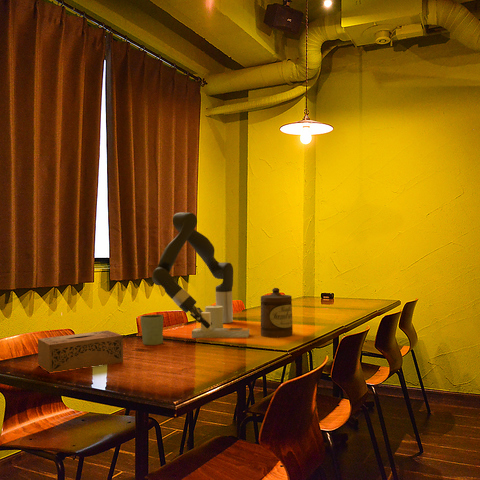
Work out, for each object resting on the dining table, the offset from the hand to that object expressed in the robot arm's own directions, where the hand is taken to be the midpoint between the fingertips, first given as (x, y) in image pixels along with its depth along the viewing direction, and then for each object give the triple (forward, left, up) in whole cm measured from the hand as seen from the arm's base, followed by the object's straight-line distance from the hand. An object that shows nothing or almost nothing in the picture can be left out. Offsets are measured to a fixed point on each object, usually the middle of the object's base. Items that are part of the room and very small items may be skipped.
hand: (209, 326), depth 224 cm
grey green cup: (+17, -23, -5) cm, 29 cm away
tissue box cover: (+56, -38, -5) cm, 68 cm away
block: (0, -2, -5) cm, 5 cm away
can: (-19, -1, -5) cm, 20 cm away
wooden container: (-3, +31, -5) cm, 32 cm away
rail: (0, +5, -5) cm, 7 cm away
